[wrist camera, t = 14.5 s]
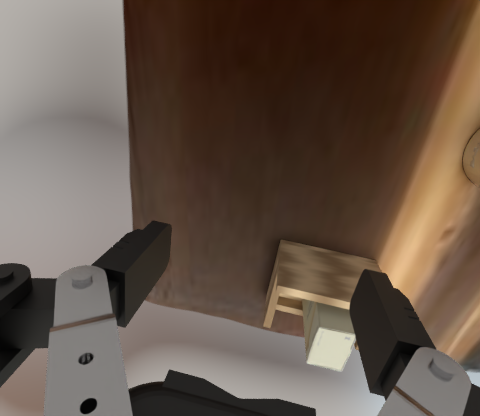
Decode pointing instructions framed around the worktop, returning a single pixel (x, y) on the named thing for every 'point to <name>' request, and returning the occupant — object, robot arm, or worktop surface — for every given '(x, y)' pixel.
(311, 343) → the skincare box
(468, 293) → the worktop surface
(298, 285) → the caddy
